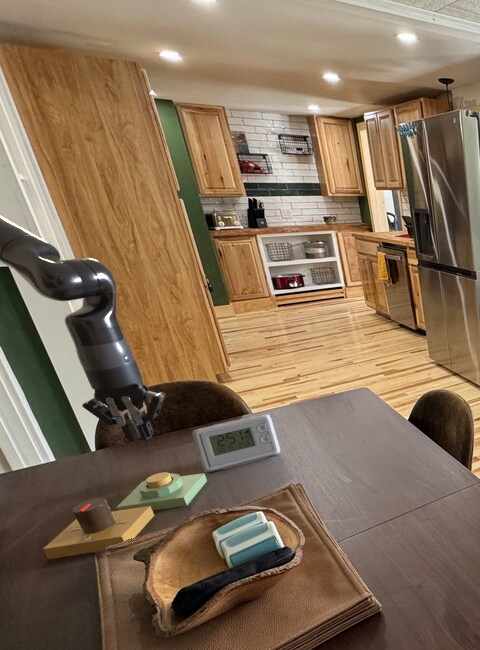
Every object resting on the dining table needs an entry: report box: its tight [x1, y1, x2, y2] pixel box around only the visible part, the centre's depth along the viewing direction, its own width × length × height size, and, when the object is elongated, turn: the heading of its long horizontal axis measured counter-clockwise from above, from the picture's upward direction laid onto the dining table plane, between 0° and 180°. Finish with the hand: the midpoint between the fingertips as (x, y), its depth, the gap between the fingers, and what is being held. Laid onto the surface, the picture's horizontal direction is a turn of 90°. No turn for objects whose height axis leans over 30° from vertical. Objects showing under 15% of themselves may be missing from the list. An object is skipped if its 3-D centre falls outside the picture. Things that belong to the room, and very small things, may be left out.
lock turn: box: [72, 497, 116, 533], centre depth 92 cm, size 5×5×5 cm
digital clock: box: [191, 413, 281, 473], centre depth 119 cm, size 16×9×11 cm, turn 116°
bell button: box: [145, 471, 172, 489], centre depth 105 cm, size 4×4×2 cm
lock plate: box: [42, 506, 155, 560], centre depth 94 cm, size 12×10×3 cm
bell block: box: [115, 473, 208, 512], centre depth 106 cm, size 12×10×4 cm
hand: (141, 438), depth 101 cm, fingers closed
